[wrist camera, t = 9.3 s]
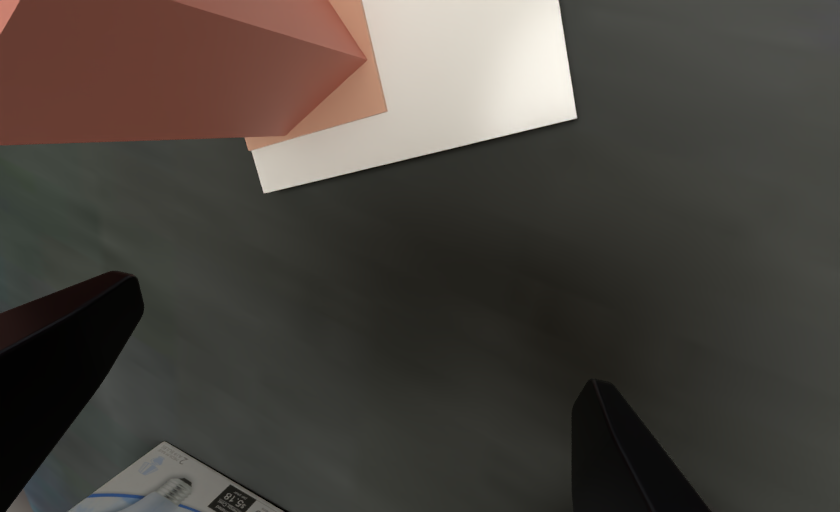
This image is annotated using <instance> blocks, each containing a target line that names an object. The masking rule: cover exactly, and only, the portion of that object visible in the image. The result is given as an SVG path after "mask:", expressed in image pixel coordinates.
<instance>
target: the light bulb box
mask: <svg viewBox="0 0 840 512" xmlns="http://www.w3.org/2000/svg"><path fill="white" fill-rule="evenodd" d="M68 512H284V511H283V510H281V509H279V508H277V507H276V506H274V505H272V504H271V503H269V502H267V501H266V500H264V499H262V498H261V497H259V496H257V495H255V494H254V493H252V492H250V491H249V490H247V489H245V488H243V487H242V486H240V485H238V484H237V483H235V482H233V481H232V480H230V479H228V478H226V477H225V476H223V475H221V474H220V473H218V472H216V471H215V470H213V469H211V468H209V467H208V466H206V465H204V464H203V463H201V462H199V461H198V460H196V459H194V458H193V457H191V456H189V455H188V454H186V453H184V452H182V451H181V450H179V449H177V448H176V447H174V446H172V445H170V444H169V443H167V442H165V441H164V442H162V443H161V444H159V445H158V446H157V447H155V448H154V449H152V450H151V451H150V452H148V453H147V454H146V455H144V456H143V457H141V458H140V459H139V460H137V461H136V462H135V463H133V464H132V465H131V466H129V467H128V468H126V469H125V470H124V471H122V472H121V473H119V474H118V475H117V476H115V477H114V478H113V479H111V480H110V481H109V482H107V483H106V484H104V485H103V486H102V487H100V488H99V489H98V490H96V491H95V492H94V493H92V494H91V495H90V496H88V497H87V498H85V499H84V500H83V501H81V502H80V503H79V504H77V505H76V506H74V507H73V508H72V509H70V510H69V511H68Z"/></svg>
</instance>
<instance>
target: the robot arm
mask: <svg viewBox="0 0 840 512" xmlns="http://www.w3.org/2000/svg"><path fill="white" fill-rule="evenodd" d="M143 312H144V302H143V298H142V294H141V290H140V285H139V281H138V279H137V277H136V276H135V275H133V274H129V273H124V272H120V271H110V272H107V273H104V274H102V275H99V276H97V277H94V278H91V279H89V280H86V281H84V282H81V283H78V284H76V285H73V286H70V287H68V288H65V289H63V290H60V291H57V292H55V293H52V294H50V295H47V296H44V297H42V298H39V299H36V300H34V301H31V302H29V303H26V304H23V305H21V306H18V307H16V308H13V309H10V310H8V311H5V312H3V313H0V512H6V511H7V509H8V508H9V507H10V505H11V504H12V503H13V501H14V500H15V499H16V497H17V496H18V495H19V493H20V492H21V491H22V489H23V488H24V487H25V485H26V484H27V483H28V481H29V480H30V479H31V477H32V476H33V475H34V473H35V472H36V471H37V469H38V468H39V467H40V465H41V464H42V463H43V461H44V460H45V459H46V457H47V456H48V455H49V453H50V452H51V451H52V449H53V448H54V447H55V445H56V444H57V443H58V441H59V440H60V439H61V437H62V436H63V435H64V433H65V432H66V431H67V429H68V428H69V427H70V425H71V424H72V423H73V421H74V420H75V419H76V417H77V416H78V415H79V413H80V412H81V411H82V409H83V408H84V407H85V405H86V404H87V403H88V401H89V400H90V399H91V397H92V396H93V395H94V393H95V392H96V390H97V389H98V388H99V386H100V385H101V383H102V382H103V380H104V379H105V377H106V376H107V374H108V373H109V371H110V369H111V368H112V366H113V364H114V363H115V361H116V359H117V358H118V356H119V354H120V353H121V351H122V349H123V348H124V346H125V344H126V343H127V341H128V339H129V338H130V336H131V334H132V333H133V331H134V329H135V327H136V326H137V324H138V322H139V321H140V319H141V317H142V315H143ZM572 499H573V510H574V512H711V511H710V509H709V508H708V507H707V505H706V504H705V503H704V501H703V500H702V499H701V498H700V496H699V495H698V494H697V492H696V491H695V490H694V488H693V487H692V486H691V485H690V483H689V482H688V481H687V479H686V478H685V477H684V475H683V474H682V473H681V472H680V470H679V469H678V468H677V466H676V465H675V464H674V462H673V461H672V460H671V459H670V457H669V456H668V455H667V453H666V452H665V451H664V449H663V448H662V447H661V446H660V444H659V443H658V442H657V440H656V439H655V438H654V436H653V435H652V434H651V433H650V431H649V430H648V429H647V427H646V426H645V425H644V423H643V422H642V421H641V420H640V418H639V417H638V416H637V414H636V413H635V412H634V410H633V409H632V408H631V407H630V405H629V404H628V403H627V401H626V400H625V399H624V397H623V396H622V395H621V394H620V392H619V391H618V390H617V388H616V387H615V386H614V385H613V384H612V383H610V382H606V381H602V380H597V379H590V380H589V381H588V382H587V383H586V385H585V386H584V388H583V390H582V391H581V393H580V395H579V396H578V398H577V400H576V401H575V403H574V406H573V409H572Z"/></svg>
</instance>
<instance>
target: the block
mask: <svg viewBox="0 0 840 512" xmlns="http://www.w3.org/2000/svg"><path fill="white" fill-rule="evenodd" d="M366 61H367V58H366V57H365V55H364V54H363V52H362V51H361V49H360V47H359V46H358V44H357V43H356V41H355V40H354V38H353V37H352V35H351V34H350V32H349V31H348V29H347V28H346V26H345V25H344V23H343V22H342V20H341V19H340V17H339V15H338V14H337V12H336V11H335V9H334V8H333V6H332V5H331V3H330V2H329V0H0V145H24V144H55V143H85V142H115V141H146V140H176V139H207V138H237V137H268V136H286V135H287V134H288V133H289V132H290V131H291V130H292V129H293V128H294V127H295V126H296V125H298V124H299V123H300V122H301V121H302V120H303V119H304V118H305V117H306V116H307V115H308V114H309V113H311V112H312V111H313V110H314V109H315V108H316V107H317V106H318V105H319V104H320V103H321V102H322V101H324V100H325V99H326V98H327V97H328V96H329V95H330V94H331V93H332V92H333V91H334V90H335V89H337V88H338V87H339V86H340V85H341V84H342V83H343V82H344V81H345V80H346V79H347V78H348V77H350V76H351V75H352V74H353V73H354V72H355V71H356V70H357V69H358V68H359V67H360V66H361V65H363V64H364V63H365V62H366Z"/></svg>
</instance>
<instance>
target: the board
mask: <svg viewBox="0 0 840 512" xmlns="http://www.w3.org/2000/svg"><path fill="white" fill-rule="evenodd" d="M329 2H330V3H331V5H332V6H333V8H334V9H335V11H336V12H337V14H338V15H339V17H340V19H341V20H342V22H343V23H344V25H345V26H346V28H347V29H348V31H349V32H350V34H351V35H352V37H353V38H354V40H355V41H356V43H357V44H358V46H359V47H360V49H361V51H362V52H363V54H364V55H365V57H366V58H367V61H366V62H365V63H364V64H363V65H361V66H360V67H359V68H358V69H357V70H356V71H355V72H354V73H353V74H352V75H351V76H350V77H348V78H347V79H346V80H345V81H344V82H343V83H342V84H341V85H340V86H339V87H338V88H337V89H335V90H334V91H333V92H332V93H331V94H330V95H329V96H328V97H327V98H326V99H325V100H324V101H322V102H321V103H320V104H319V105H318V106H317V107H316V108H315V109H314V110H313V111H312V112H311V113H309V114H308V115H307V116H306V117H305V118H304V119H303V120H302V121H301V122H300V123H299V124H298V125H296V126H295V127H294V128H293V129H292V130H291V131H290V132H289V133H288V134H287V135H286V136H268V137H245V141H246V144H247V147H248V151H252V154H253V158H254V161H255V165H256V168H257V172H258V175H259V178H260V182H261V185H262V189H263V192H264V193H269V192H273V191H278V190H282V189H287V188H291V187H295V186H299V185H303V184H307V183H312V182H316V181H320V180H324V179H328V178H332V177H337V176H341V175H345V174H349V173H353V172H357V171H362V170H366V169H370V168H374V167H378V166H382V165H387V164H391V163H395V162H399V161H403V160H407V159H412V158H416V157H420V156H424V155H428V154H432V153H437V152H441V151H445V150H449V149H453V148H457V147H462V146H466V145H470V144H474V143H478V142H482V141H487V140H491V139H495V138H499V137H503V136H507V135H512V134H516V133H520V132H524V131H528V130H532V129H537V128H541V127H545V126H549V125H553V124H557V123H562V122H566V121H570V120H574V119H578V118H577V112H576V106H575V99H574V93H573V87H572V80H571V74H570V67H569V61H568V55H567V48H566V42H565V36H564V29H563V23H562V17H561V10H560V4H559V0H329Z"/></svg>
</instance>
